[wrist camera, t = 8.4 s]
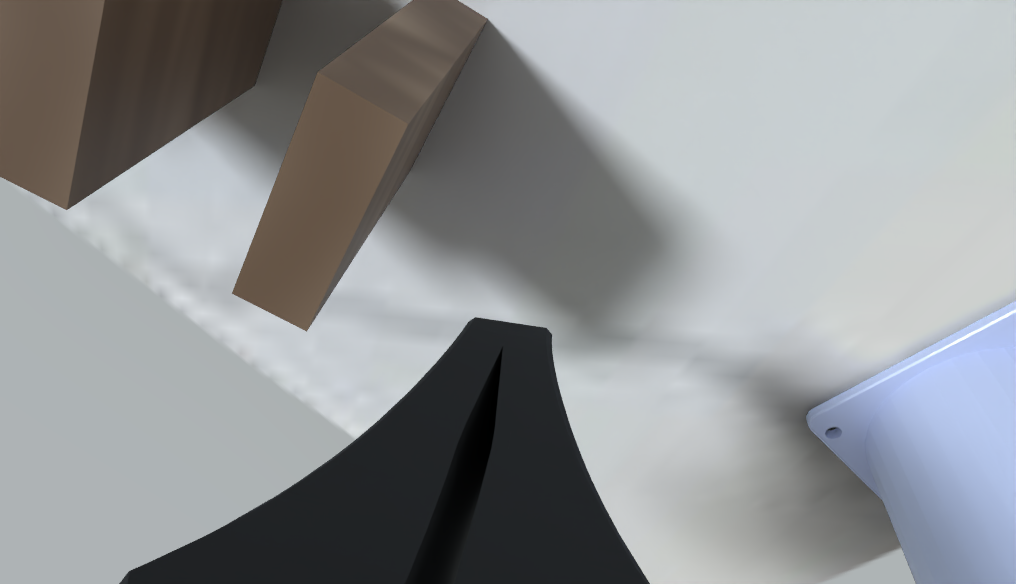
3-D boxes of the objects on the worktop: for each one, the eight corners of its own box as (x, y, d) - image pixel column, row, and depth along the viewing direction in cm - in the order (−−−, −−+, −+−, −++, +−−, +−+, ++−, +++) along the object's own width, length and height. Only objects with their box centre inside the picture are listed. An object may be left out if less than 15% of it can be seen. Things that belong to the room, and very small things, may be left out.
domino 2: (487, 19, 18) (407, 124, 11) (408, 172, 20) (306, 331, 14) (433, -15, 17) (317, 71, 11) (360, 145, 20) (232, 293, 13)
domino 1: (311, -90, 17) (113, -47, 10) (254, 85, 20) (66, 210, 13) (251, -127, 17) (7, -107, 10) (201, 55, 19) (-18, 167, 13)
